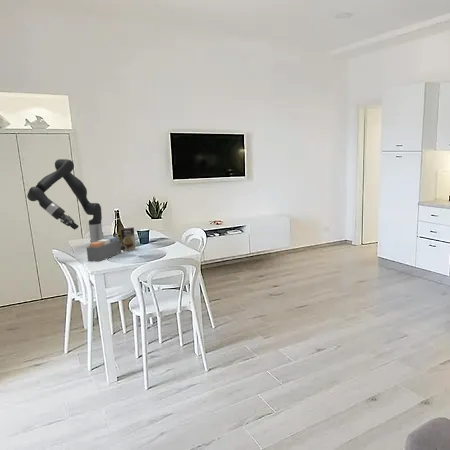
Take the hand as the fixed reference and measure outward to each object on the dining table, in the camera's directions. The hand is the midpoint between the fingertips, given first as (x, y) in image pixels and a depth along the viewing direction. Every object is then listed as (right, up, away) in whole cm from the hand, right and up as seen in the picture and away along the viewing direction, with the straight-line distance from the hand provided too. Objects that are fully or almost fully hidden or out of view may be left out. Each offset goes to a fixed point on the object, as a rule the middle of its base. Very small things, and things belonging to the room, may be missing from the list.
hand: (76, 228), depth 255 cm
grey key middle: (+14, -11, +11) cm, 21 cm away
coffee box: (+28, -16, +28) cm, 42 cm away
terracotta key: (+12, -13, +4) cm, 18 cm away
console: (+15, -19, +12) cm, 27 cm away
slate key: (+17, -10, +18) cm, 27 cm away
